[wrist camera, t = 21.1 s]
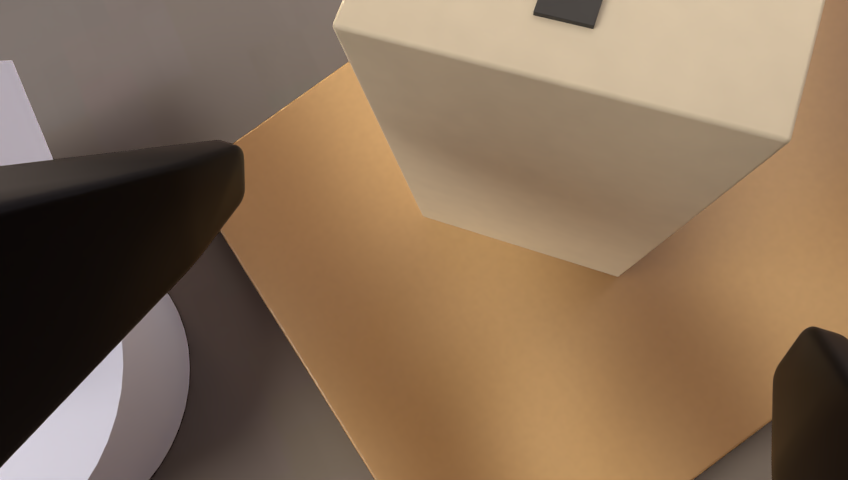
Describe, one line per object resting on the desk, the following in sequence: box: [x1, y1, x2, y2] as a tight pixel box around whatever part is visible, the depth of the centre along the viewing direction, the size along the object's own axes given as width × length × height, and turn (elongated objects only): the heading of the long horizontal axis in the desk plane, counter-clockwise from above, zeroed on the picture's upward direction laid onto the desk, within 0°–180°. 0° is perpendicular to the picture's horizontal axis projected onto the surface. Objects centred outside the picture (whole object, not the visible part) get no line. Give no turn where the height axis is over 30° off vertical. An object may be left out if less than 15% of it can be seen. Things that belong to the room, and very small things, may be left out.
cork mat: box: [220, 0, 848, 480], centre depth 18 cm, size 20×16×1 cm
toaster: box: [333, 0, 825, 277], centre depth 13 cm, size 6×6×10 cm
